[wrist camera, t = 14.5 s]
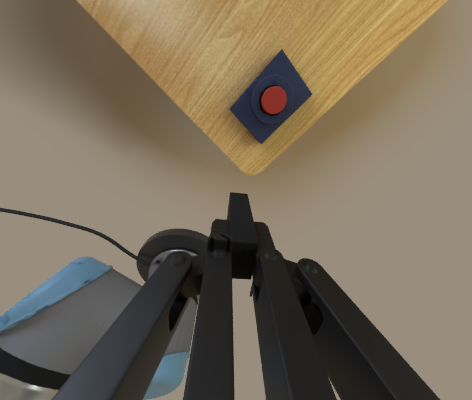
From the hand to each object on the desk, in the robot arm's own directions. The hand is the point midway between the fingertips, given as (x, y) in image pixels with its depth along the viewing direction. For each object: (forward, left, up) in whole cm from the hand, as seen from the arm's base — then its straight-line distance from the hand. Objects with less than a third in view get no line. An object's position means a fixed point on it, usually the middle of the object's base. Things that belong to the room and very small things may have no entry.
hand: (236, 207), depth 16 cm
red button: (+5, +10, -18) cm, 21 cm away
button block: (+5, +10, -21) cm, 24 cm away
